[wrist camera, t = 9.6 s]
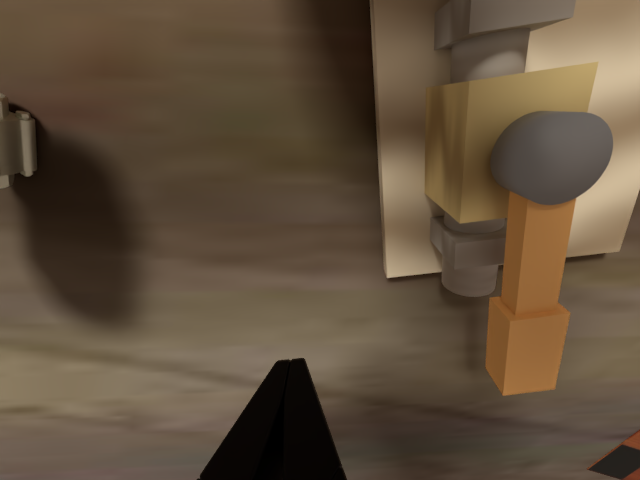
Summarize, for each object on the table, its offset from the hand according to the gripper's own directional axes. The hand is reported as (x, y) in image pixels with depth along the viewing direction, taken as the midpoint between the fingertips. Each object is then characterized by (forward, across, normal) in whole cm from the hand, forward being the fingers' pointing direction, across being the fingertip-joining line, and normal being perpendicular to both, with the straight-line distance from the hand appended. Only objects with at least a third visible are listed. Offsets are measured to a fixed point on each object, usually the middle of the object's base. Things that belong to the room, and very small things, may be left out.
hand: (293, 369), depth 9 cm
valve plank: (+13, -13, -4) cm, 19 cm away
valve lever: (+6, -10, +1) cm, 12 cm away
